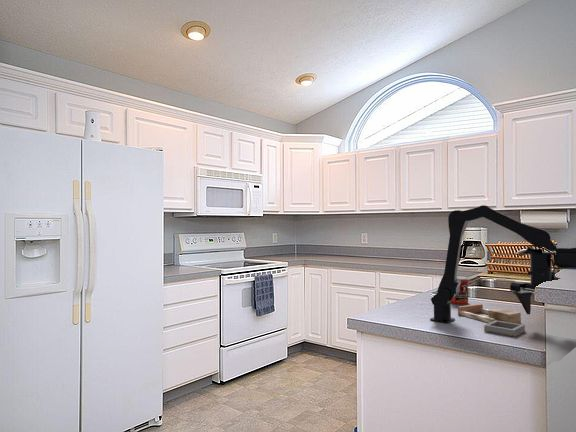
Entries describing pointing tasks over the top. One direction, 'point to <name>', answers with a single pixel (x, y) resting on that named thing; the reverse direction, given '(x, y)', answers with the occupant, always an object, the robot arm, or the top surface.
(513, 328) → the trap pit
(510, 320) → the light brown wooden block
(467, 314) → the wooden lane
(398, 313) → the top surface
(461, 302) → the canned food
